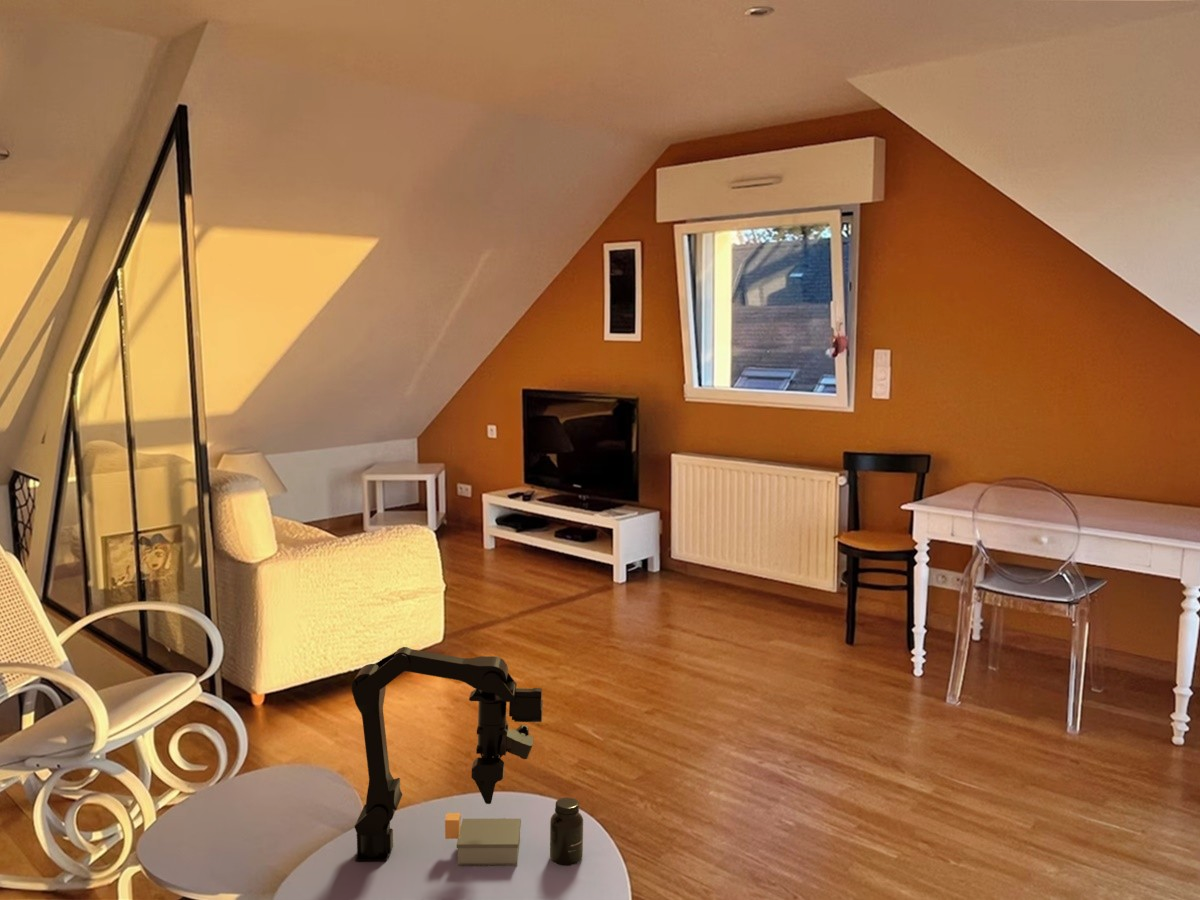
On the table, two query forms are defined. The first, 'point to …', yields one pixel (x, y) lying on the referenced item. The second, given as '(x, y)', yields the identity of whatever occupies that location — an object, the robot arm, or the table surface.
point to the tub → (488, 856)
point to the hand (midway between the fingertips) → (490, 792)
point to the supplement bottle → (566, 833)
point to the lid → (482, 832)
